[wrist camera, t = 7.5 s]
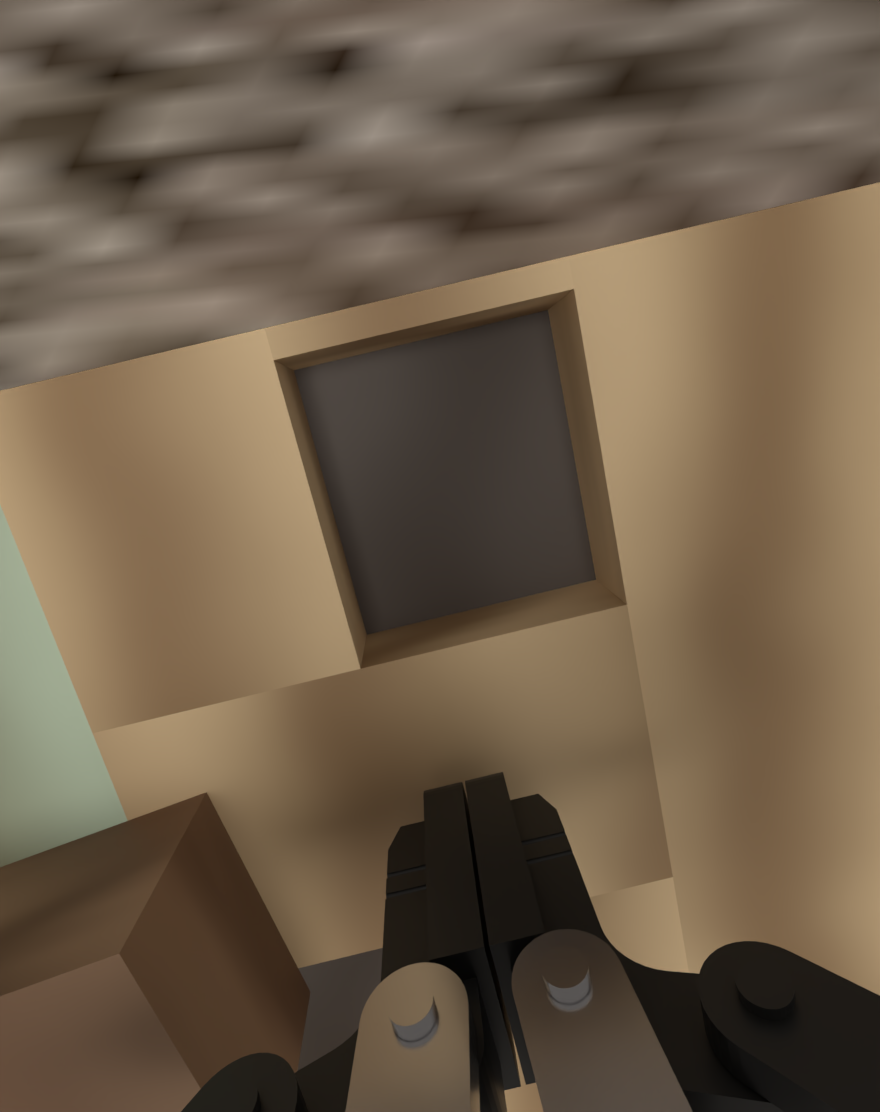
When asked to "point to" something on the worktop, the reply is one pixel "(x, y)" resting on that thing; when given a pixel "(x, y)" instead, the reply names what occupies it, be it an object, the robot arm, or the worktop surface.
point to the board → (481, 592)
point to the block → (139, 968)
